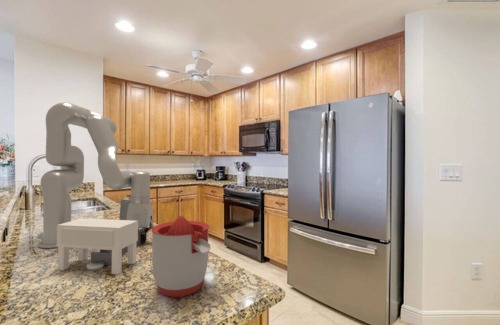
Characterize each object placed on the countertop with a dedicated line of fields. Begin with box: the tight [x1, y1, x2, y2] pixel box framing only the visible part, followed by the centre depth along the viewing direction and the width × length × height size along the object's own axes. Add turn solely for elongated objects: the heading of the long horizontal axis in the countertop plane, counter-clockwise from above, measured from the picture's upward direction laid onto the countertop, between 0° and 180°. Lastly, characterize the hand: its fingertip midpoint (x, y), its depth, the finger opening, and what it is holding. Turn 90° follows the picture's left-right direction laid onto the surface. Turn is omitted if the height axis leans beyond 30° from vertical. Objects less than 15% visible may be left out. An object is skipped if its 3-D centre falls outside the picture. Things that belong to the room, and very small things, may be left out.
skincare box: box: [118, 197, 131, 220], centre depth 133 cm, size 8×7×16 cm
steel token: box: [86, 261, 105, 272], centre depth 84 cm, size 5×5×2 cm
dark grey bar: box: [90, 228, 142, 266], centre depth 99 cm, size 8×26×6 cm, turn 172°
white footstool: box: [56, 217, 138, 275], centre depth 85 cm, size 22×10×14 cm, turn 82°
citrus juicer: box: [151, 215, 211, 298], centre depth 70 cm, size 16×17×20 cm
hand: (140, 242), depth 109 cm, fingers closed on dark grey bar, 2 cm apart
